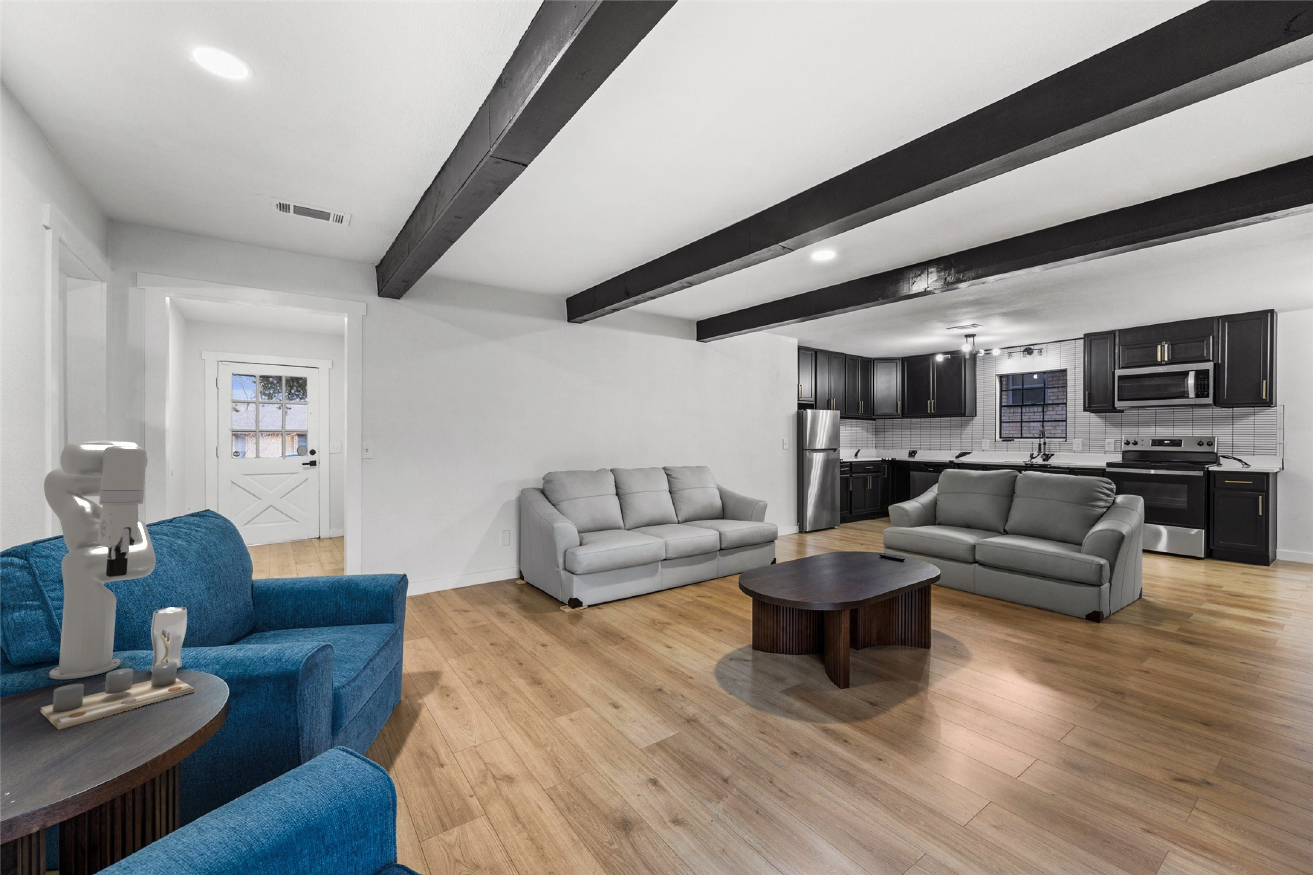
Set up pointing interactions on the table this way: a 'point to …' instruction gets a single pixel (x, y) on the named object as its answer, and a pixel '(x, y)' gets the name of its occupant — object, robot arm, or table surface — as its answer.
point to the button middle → (119, 681)
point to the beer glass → (168, 635)
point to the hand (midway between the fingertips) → (116, 575)
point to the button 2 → (164, 674)
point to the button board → (114, 703)
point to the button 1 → (68, 697)
